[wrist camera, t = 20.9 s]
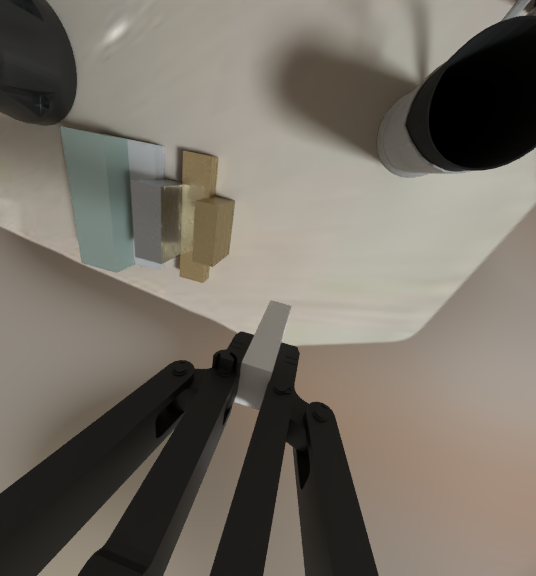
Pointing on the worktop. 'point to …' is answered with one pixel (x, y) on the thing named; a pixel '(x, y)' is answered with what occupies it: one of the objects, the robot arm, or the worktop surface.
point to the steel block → (156, 218)
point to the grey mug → (469, 106)
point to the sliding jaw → (202, 218)
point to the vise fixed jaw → (107, 193)
